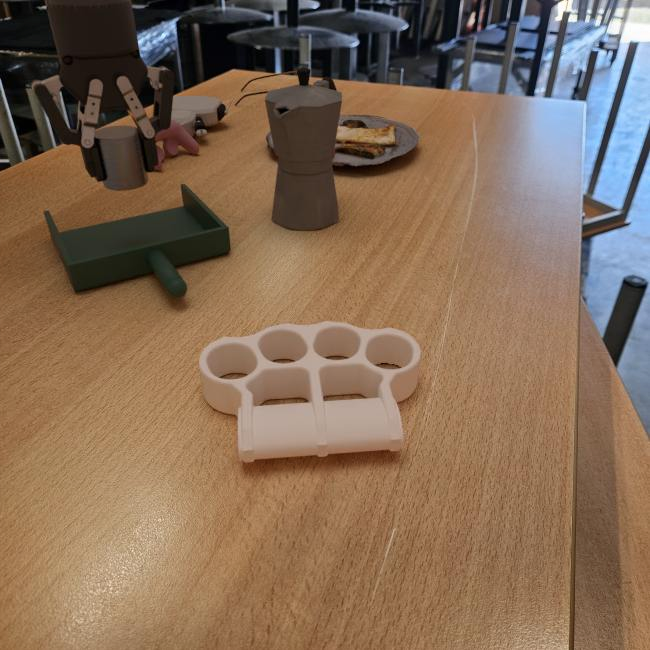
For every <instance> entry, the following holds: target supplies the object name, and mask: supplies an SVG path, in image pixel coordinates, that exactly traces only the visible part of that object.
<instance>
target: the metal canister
mask: <svg viewBox="0 0 650 650" xmlns="http://www.w3.org/2000/svg"><path fill="white" fill-rule="evenodd" d="M94 145H95V146H96V147H97V149H98V153H99V157H100V162H101V166H102V171H103V175H104V181H102V184H103V186H104V188H105V189H108V190H110V191H116V192H119V191H120V192H122V191H123V192H124V191H125V192H126V191H132V190H137V189H140V188H142V187H144V186H146V185H147V184H148V183H149V173H148V172H147V168H146V162H145V157H144V151H143V145H142V140H141V134H140V130H139V129H138V128H137V126H132V125H110V126H105V127H101V128H98V129H95V137H94Z"/></svg>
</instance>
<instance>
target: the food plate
mask: <svg viewBox="0 0 650 650" xmlns="http://www.w3.org/2000/svg"><path fill="white" fill-rule="evenodd" d="M265 140H266V144H267V147H268V148H269V149H270V150H272V153H274V146H273V141H272V136H271V130H269V132H268V133H267V134H266V136H265ZM420 140H421V135H419V132H418V131H417V130H416V129H414V128H413V127H412V126H411V125H408V124H406V123H404V122H400V121H395V120H391V119H389V118H386V117H385V118H384V116H378V115H370V114H369V115H367V114H340V117H339V123H338V129H337V136H336V142H335V148H334V155H333V156H332V166H335V167H343V166H345V165H348V166H352V167H358V166H359V167H360V166H369V165H370V166H371V165H379V164H383V163H385V162H389V161H391V159H393V158H397V157H400V156H404V155H406V154H407V153H409V152H410V151H412V150H414V148H415V147H416V146H418V143H419V142H420Z"/></svg>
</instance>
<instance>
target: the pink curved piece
mask: <svg viewBox="0 0 650 650" xmlns="http://www.w3.org/2000/svg"><path fill="white" fill-rule="evenodd" d="M155 141H156V143H158V142H161V141H162V148H161V146H159V145H157V144H156V147H157V153H158V159H159V162H158V166H154V168H155V171H159V172H160V171H162V170H163V167H164V165H163V162H162V161H163V160H164V158H165V155H166V156H167V157H174V156H176V155H177V154H178V153H179V146H180V147H182V148H183V149H184V150H185V151H187V152H188V153H190V154H192V155H195V156H197V155H198V154H199V153H200V146H199V144H198V142H197V141H196V139H194V138H193V136H192V137H191V136H190V135H189V134H188V133H187V131H186V130H185V129H184V128H183V127H182V126H181V125H180V124H179V123H177V122H175V120H173V119H171V125H170V127H169V129H167V130H161V131H160V132H158V133H157V134H156V136H155Z"/></svg>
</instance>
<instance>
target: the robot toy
mask: <svg viewBox="0 0 650 650" xmlns="http://www.w3.org/2000/svg"><path fill="white" fill-rule="evenodd" d="M232 103H233V100H232V99H230V100H229V103H228V105H227V106H226V104H224V103H223V100H221V99H219V98H217V97H213V96H207V95H179V96H175V97H174V96H173V104H172V115H171V119H173V120H175V122H177V123H179V124H180V125H181V126H182V127H183V128H184V129H185V130H186V131H187V133H188V134H189V135H190V136H191V137H192V138H193V137H194V135H195V134H196V137H205V136H207V134H208V131H207V128H212V127H214V126H215V125H217V124H219V122H220V121H222V120H223V119H224V118H225V116H227V115H228V114H229V112H228V111H229V110H230V107H231V104H232Z"/></svg>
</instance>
